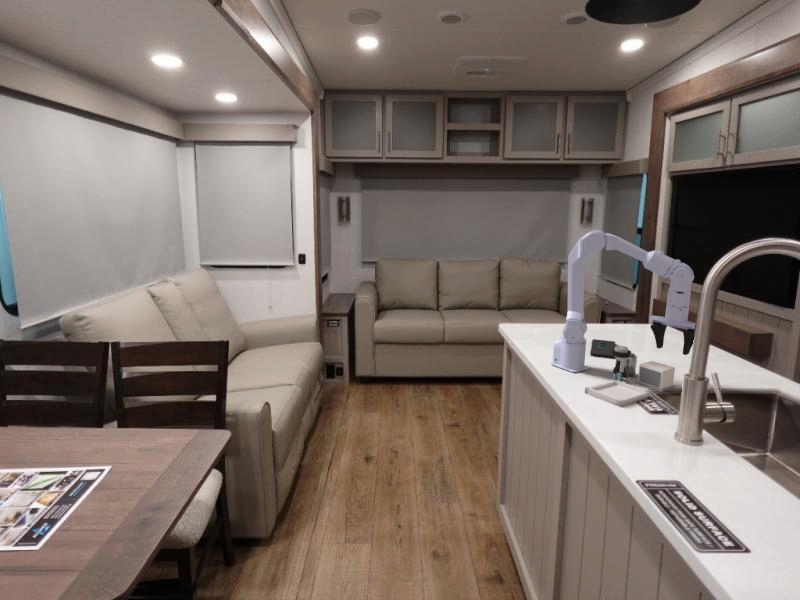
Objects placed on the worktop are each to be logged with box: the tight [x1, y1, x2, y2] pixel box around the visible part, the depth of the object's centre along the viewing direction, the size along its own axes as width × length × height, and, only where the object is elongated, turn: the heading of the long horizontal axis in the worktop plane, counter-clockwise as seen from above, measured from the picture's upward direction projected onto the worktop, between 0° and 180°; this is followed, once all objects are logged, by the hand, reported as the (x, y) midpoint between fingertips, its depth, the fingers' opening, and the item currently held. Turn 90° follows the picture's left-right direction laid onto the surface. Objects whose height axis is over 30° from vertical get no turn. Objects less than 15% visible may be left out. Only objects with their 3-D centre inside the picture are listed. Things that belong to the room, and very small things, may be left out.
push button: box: [611, 345, 632, 384], centre depth 146 cm, size 7×5×10 cm
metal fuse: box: [624, 352, 638, 378], centre depth 152 cm, size 4×4×7 cm
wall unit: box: [634, 360, 676, 393], centre depth 142 cm, size 8×7×6 cm
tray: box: [584, 379, 651, 407], centre depth 135 cm, size 11×13×2 cm
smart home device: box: [589, 338, 616, 360], centre depth 178 cm, size 8×2×20 cm
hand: (672, 351), depth 144 cm, fingers open, 7 cm apart
